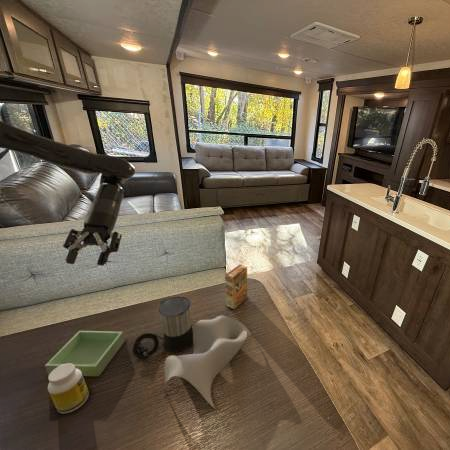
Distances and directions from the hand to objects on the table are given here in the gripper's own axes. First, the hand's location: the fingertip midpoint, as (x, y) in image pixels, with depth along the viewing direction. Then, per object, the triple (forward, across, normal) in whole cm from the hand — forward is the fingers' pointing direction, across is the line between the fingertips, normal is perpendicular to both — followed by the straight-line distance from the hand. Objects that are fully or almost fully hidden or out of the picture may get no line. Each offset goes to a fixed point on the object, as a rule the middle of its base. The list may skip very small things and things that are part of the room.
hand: (85, 264), depth 73 cm
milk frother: (+22, +22, +16) cm, 35 cm away
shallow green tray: (+26, +2, +12) cm, 28 cm away
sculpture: (+26, +38, +12) cm, 48 cm away
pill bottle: (+35, +7, +3) cm, 36 cm away
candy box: (+7, +41, +31) cm, 52 cm away
